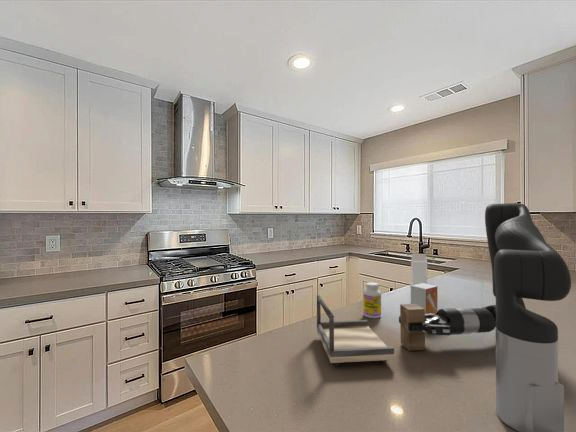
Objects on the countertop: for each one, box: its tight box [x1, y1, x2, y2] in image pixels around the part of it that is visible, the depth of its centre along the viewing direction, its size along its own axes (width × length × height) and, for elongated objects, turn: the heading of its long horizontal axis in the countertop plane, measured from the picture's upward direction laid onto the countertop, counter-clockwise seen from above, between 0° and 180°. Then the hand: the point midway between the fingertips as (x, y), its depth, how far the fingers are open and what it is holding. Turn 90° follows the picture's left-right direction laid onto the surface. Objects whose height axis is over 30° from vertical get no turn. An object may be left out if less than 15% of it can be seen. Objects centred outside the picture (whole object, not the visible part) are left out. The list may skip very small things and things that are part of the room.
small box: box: [410, 283, 439, 315], centre depth 107 cm, size 8×6×13 cm
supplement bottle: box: [363, 281, 382, 319], centre depth 112 cm, size 7×7×13 cm
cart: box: [316, 294, 395, 367], centre depth 84 cm, size 20×17×14 cm
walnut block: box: [399, 303, 426, 351], centre depth 85 cm, size 5×5×12 cm
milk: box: [410, 253, 428, 287], centre depth 129 cm, size 6×6×22 cm
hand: (404, 323), depth 85 cm, fingers closed on walnut block, 5 cm apart
